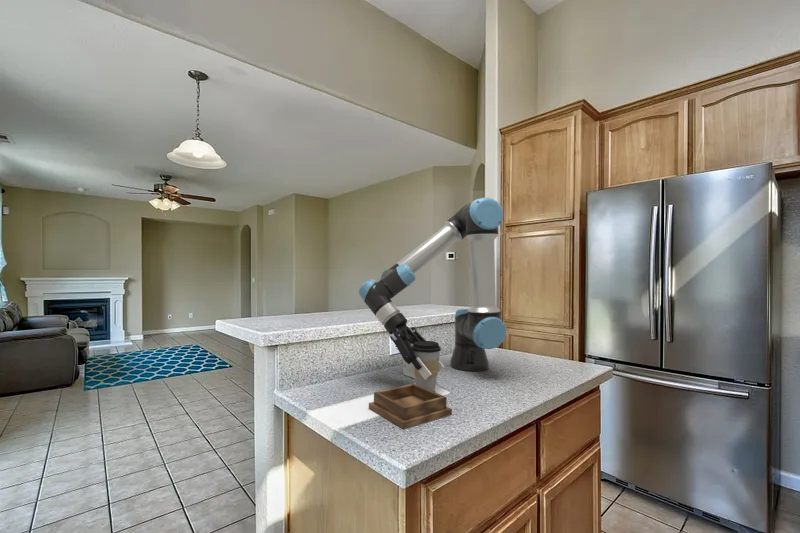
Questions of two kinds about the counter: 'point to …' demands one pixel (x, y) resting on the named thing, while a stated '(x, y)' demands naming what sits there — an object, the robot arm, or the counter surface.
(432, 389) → the coffee cup
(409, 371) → the small box
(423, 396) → the wooden tray
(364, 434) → the counter surface
